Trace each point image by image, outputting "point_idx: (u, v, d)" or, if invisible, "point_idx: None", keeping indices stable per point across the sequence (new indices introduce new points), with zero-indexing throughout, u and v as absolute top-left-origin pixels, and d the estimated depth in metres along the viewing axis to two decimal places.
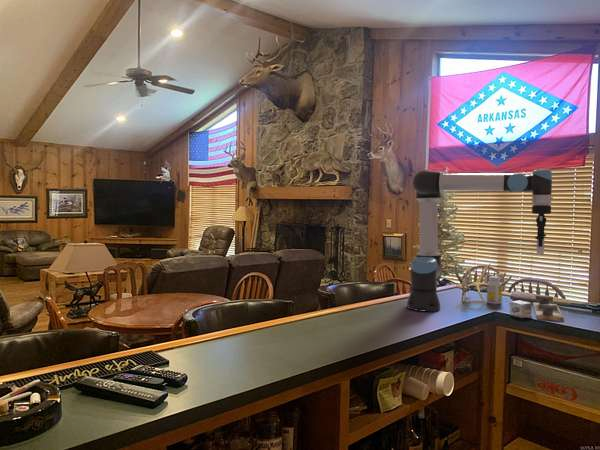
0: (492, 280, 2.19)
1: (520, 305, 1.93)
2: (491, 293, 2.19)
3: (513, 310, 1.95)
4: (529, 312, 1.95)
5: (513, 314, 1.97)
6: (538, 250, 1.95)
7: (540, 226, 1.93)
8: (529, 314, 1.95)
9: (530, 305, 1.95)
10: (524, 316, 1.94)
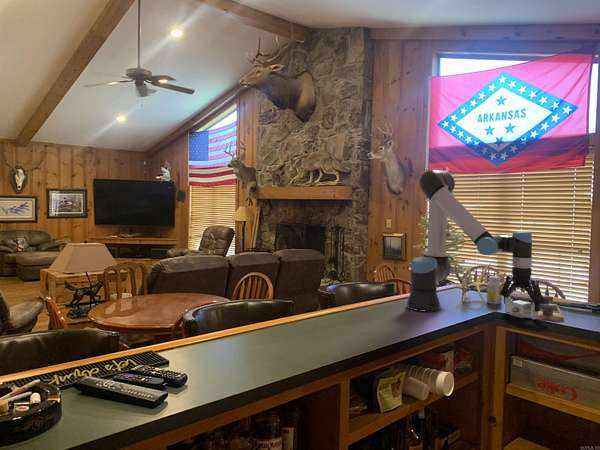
0: (492, 280, 2.19)
1: (520, 305, 1.93)
2: (491, 293, 2.19)
3: (513, 310, 1.95)
4: (529, 312, 1.95)
5: (513, 314, 1.97)
6: None
7: None
8: (529, 314, 1.95)
9: (530, 305, 1.95)
10: (524, 316, 1.94)
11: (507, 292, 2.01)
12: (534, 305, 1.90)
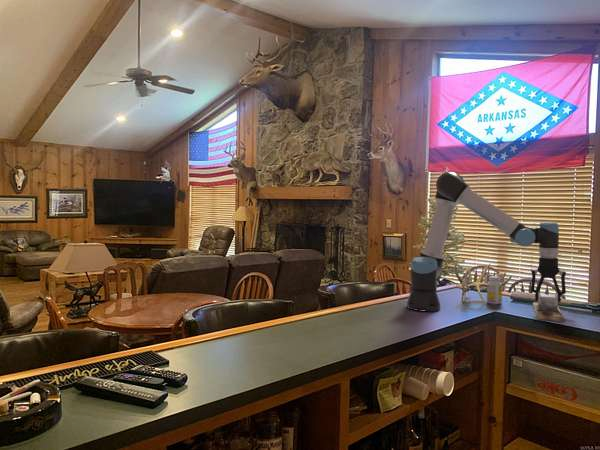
0: (492, 280, 2.19)
1: (553, 298, 1.98)
2: (491, 293, 2.19)
3: (548, 304, 1.97)
4: None
5: None
6: None
7: None
8: None
9: None
10: None
11: (539, 287, 2.01)
12: (558, 296, 1.99)
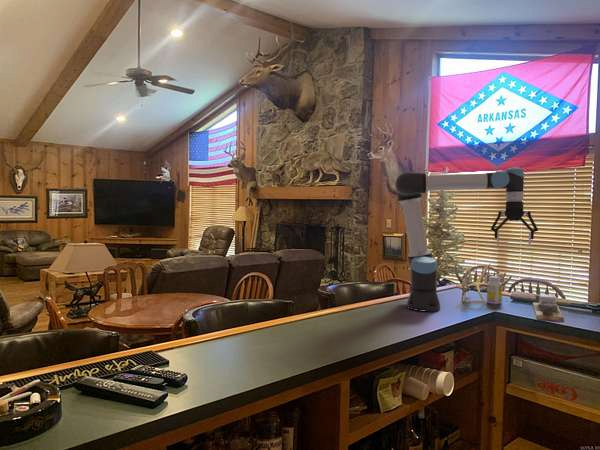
0: (492, 280, 2.19)
1: (553, 298, 1.98)
2: (491, 293, 2.19)
3: (548, 304, 1.97)
4: None
5: None
6: None
7: (495, 220, 2.17)
8: None
9: None
10: None
11: (499, 226, 2.15)
12: (531, 233, 2.10)
